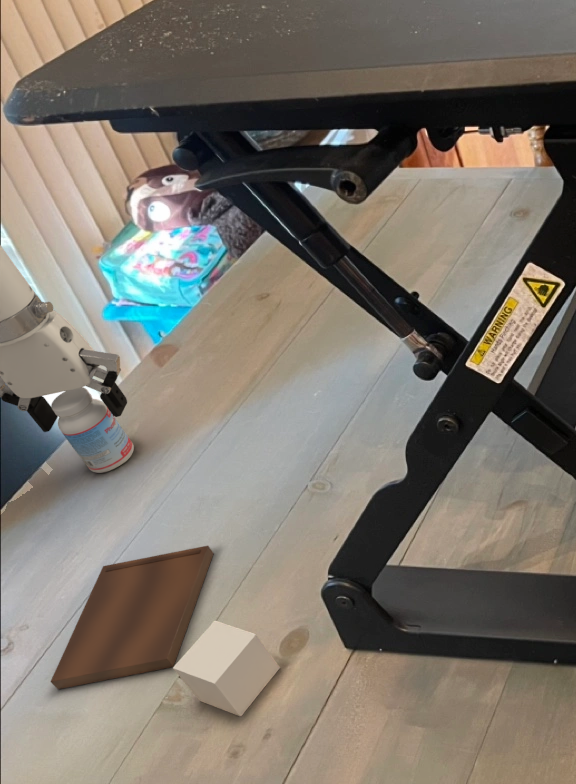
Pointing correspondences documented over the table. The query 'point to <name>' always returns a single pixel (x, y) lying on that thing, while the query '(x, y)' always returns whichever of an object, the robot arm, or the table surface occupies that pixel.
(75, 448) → the pill bottle
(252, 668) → the white cube
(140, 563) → the serving tray
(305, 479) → the table surface
